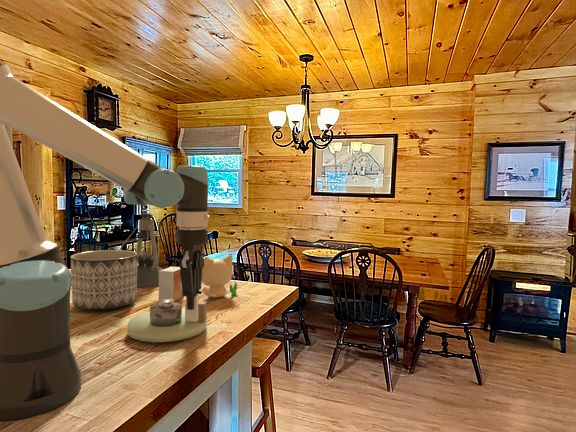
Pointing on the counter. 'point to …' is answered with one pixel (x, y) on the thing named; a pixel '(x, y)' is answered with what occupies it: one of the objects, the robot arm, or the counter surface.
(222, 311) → the counter surface
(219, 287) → the kitten
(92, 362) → the counter surface
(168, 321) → the cover
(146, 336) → the turntable
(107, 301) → the planter
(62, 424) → the counter surface
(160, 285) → the small box
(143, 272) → the lantern
